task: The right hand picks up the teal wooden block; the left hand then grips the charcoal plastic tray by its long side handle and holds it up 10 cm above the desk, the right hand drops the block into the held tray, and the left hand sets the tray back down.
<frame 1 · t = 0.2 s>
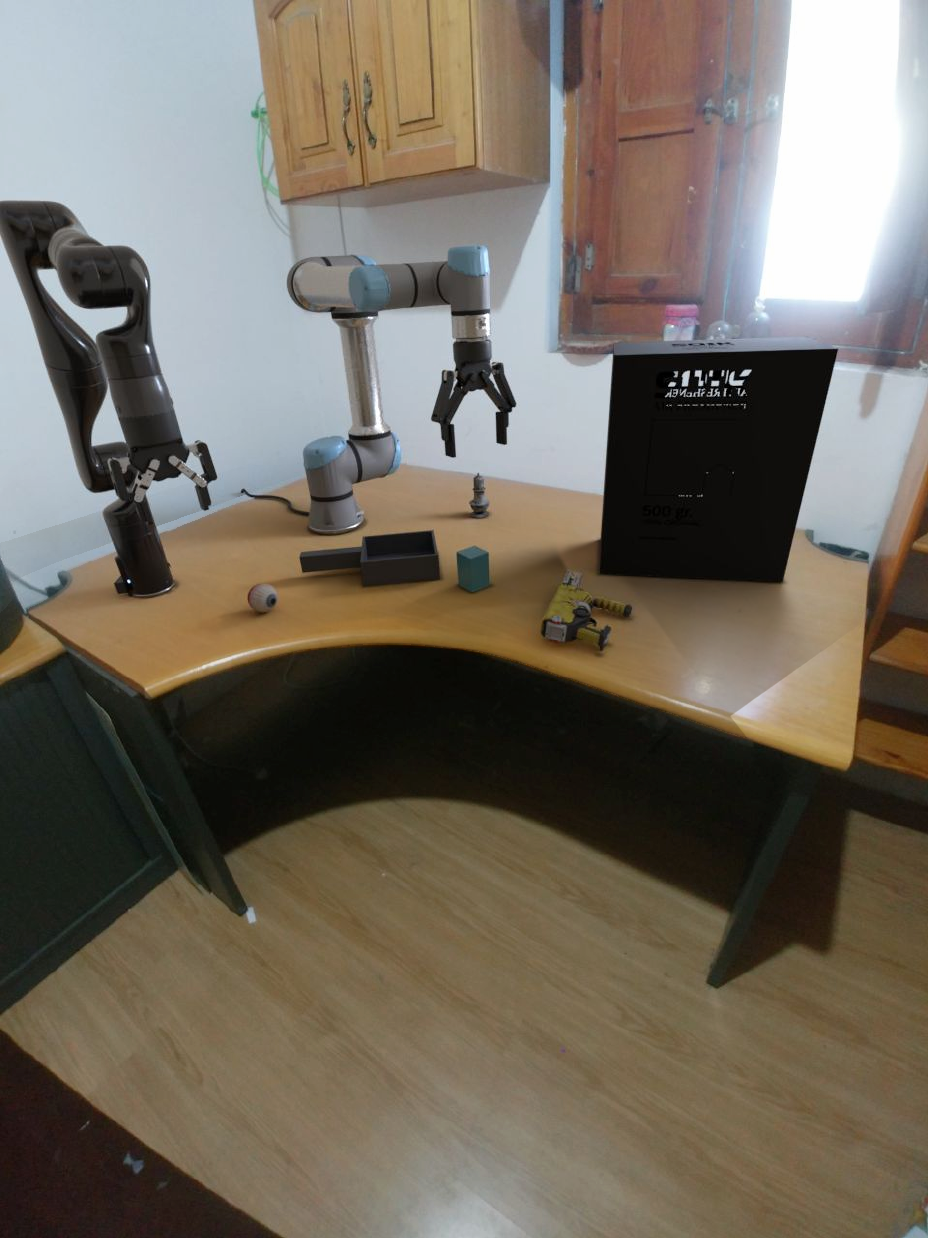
left hand: (177, 516, 95), 29 cm above the table, fingers open, 8 cm apart
right hand: (476, 449, 127), 27 cm above the table, fingers open, 13 cm apart
toy gun: (590, 619, 118), on the table
eyeball: (266, 611, 127), on the table
cardboard box: (683, 559, 139), on the table
tray: (401, 568, 142), on the table
stone chess piece: (480, 514, 171), on the table
block: (474, 585, 133), on the table
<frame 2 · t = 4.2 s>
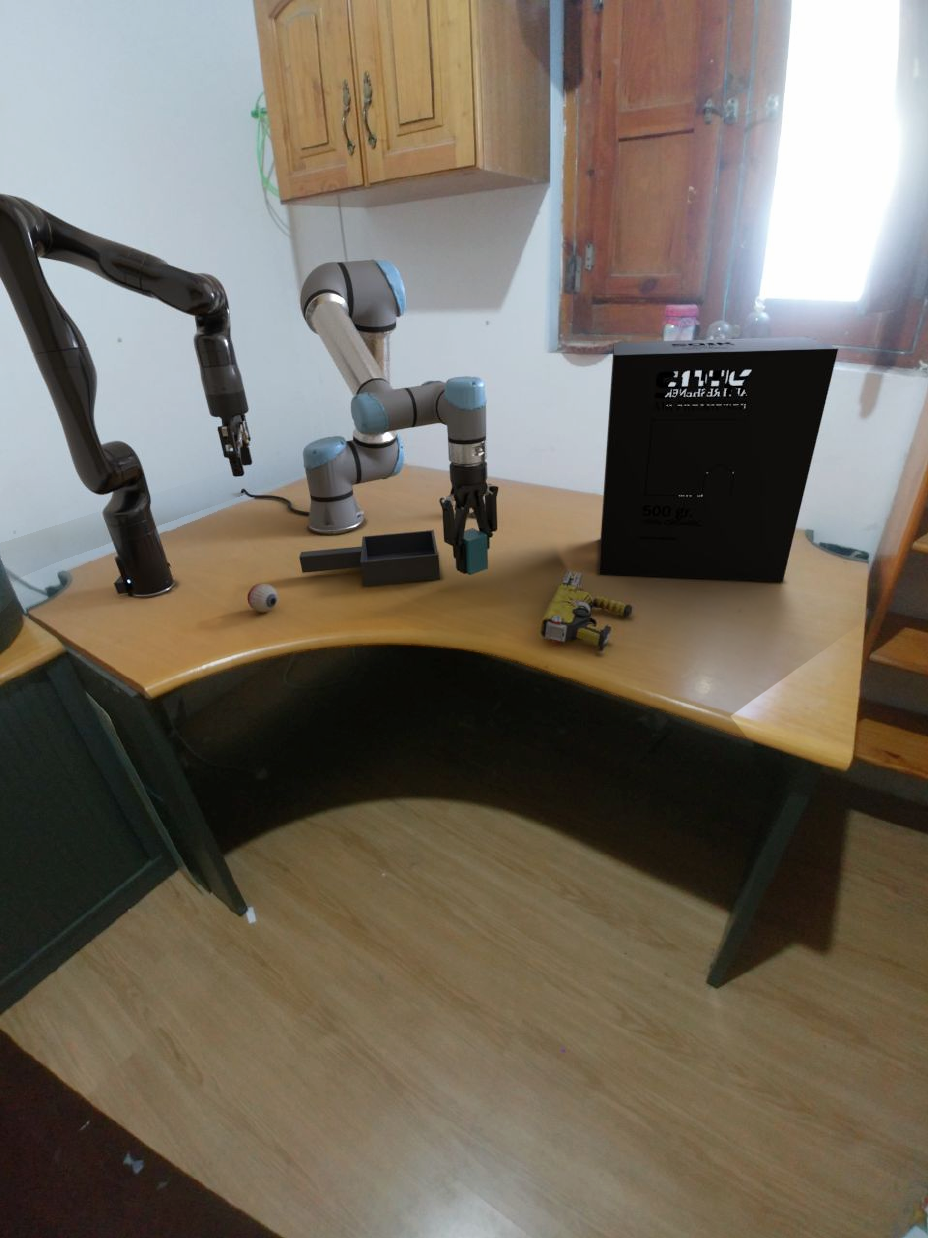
left hand: (243, 470, 127), 26 cm above the table, fingers open, 8 cm apart
right hand: (472, 567, 131), 4 cm above the table, fingers closed on block, 5 cm apart
block: (471, 568, 131), point 4 cm above the table, touching right hand
everything else where it was.
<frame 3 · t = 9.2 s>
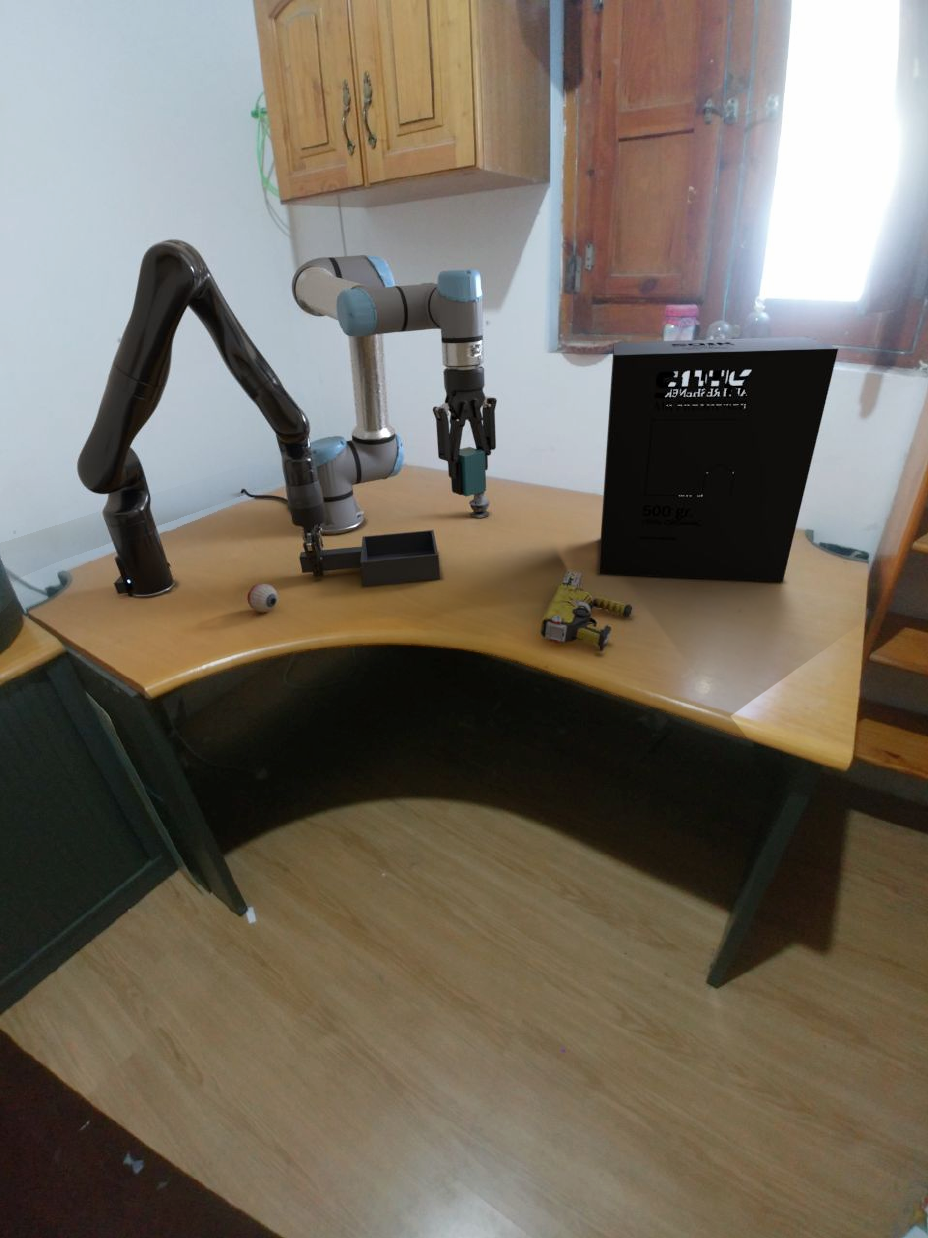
left hand: (319, 572, 140), 1 cm above the table, fingers closed on tray, 3 cm apart
right hand: (469, 489, 122), 22 cm above the table, fingers closed on block, 5 cm apart
tray: (401, 568, 142), on the table, touching left hand
block: (468, 490, 122), point 21 cm above the table, touching right hand
everything else where it was.
when the right hand's fingers open (22 cm above the table, at t = 14.5 s): block drops 11 cm, resting on tray.
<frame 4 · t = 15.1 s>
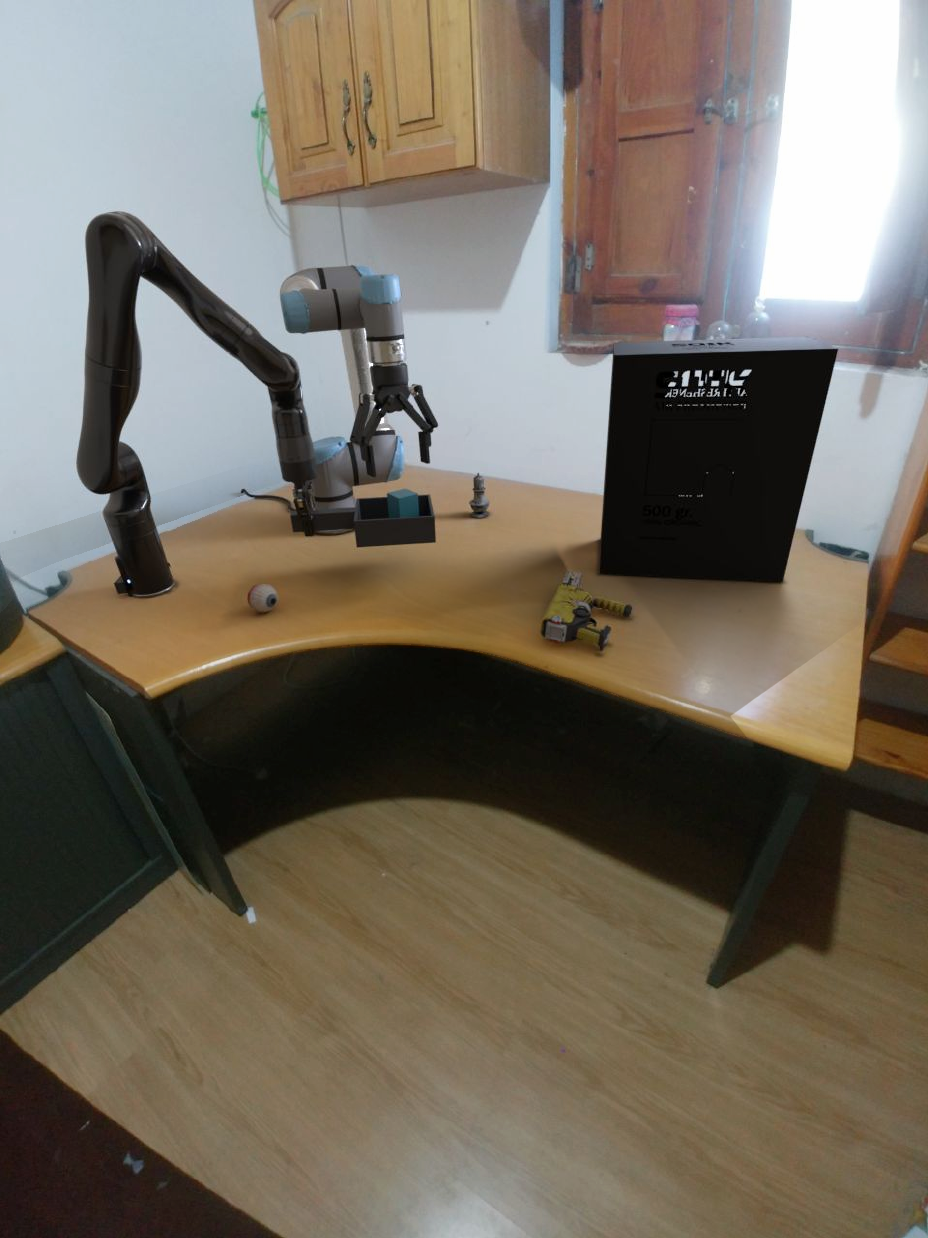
left hand: (310, 532, 135), 11 cm above the table, fingers closed on tray, 3 cm apart
right hand: (399, 468, 131), 24 cm above the table, fingers open, 13 cm apart
tray: (395, 532, 138), point 9 cm above the table, touching block, left hand
block: (404, 527, 138), point 10 cm above the table, touching tray
everything else where it was.
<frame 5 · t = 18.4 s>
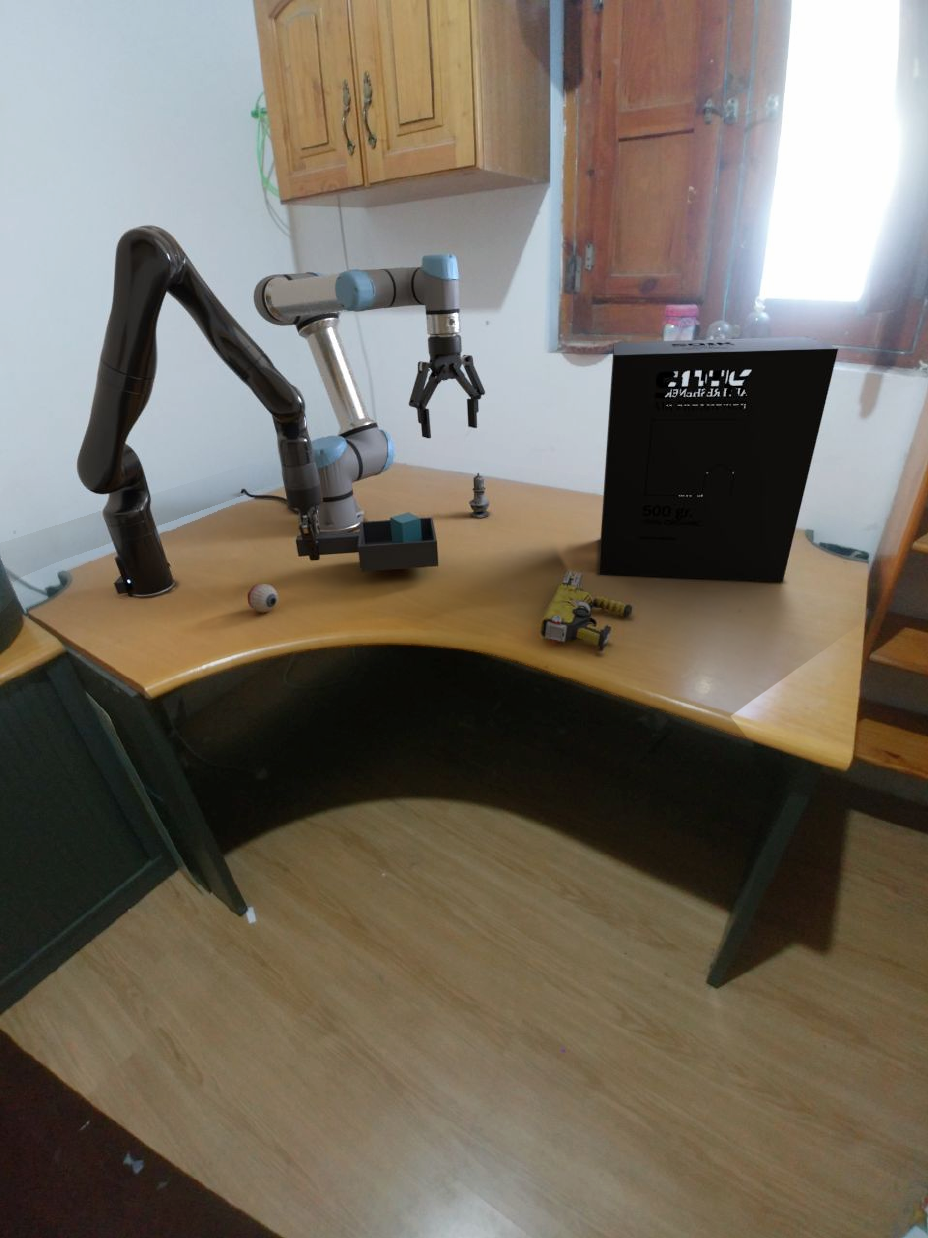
left hand: (315, 556, 138), 5 cm above the table, fingers closed on tray, 3 cm apart
right hand: (450, 432, 145), 27 cm above the table, fingers open, 13 cm apart
tray: (399, 555, 140), point 4 cm above the table, touching block, left hand
block: (407, 550, 140), point 5 cm above the table, touching tray
everything else where it was.
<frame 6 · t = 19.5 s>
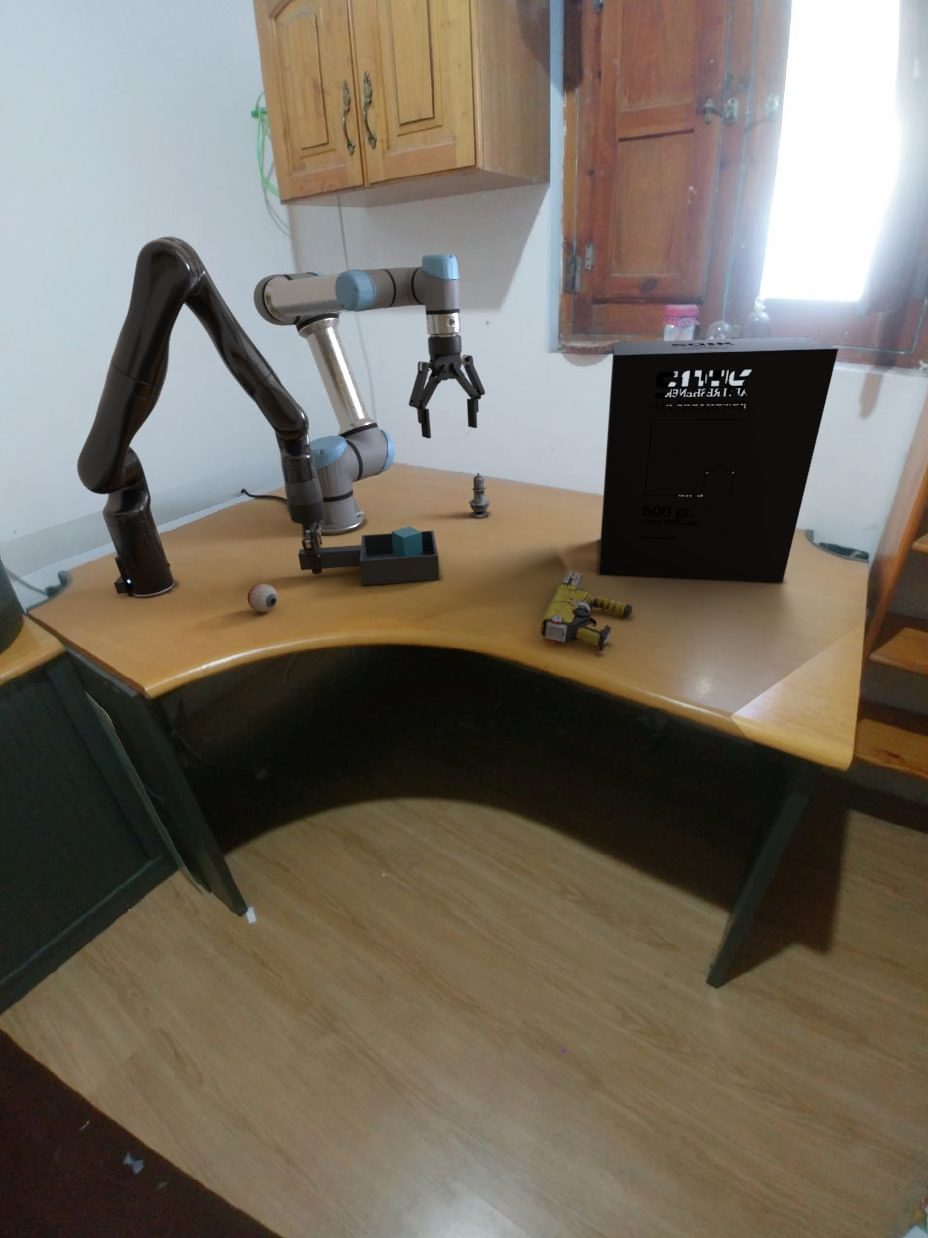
left hand: (318, 569, 140), 2 cm above the table, fingers closed on tray, 3 cm apart
right hand: (450, 432, 145), 27 cm above the table, fingers open, 13 cm apart
tray: (400, 568, 142), on the table, touching block, left hand
block: (408, 563, 142), point 1 cm above the table, touching tray
everything else where it was.
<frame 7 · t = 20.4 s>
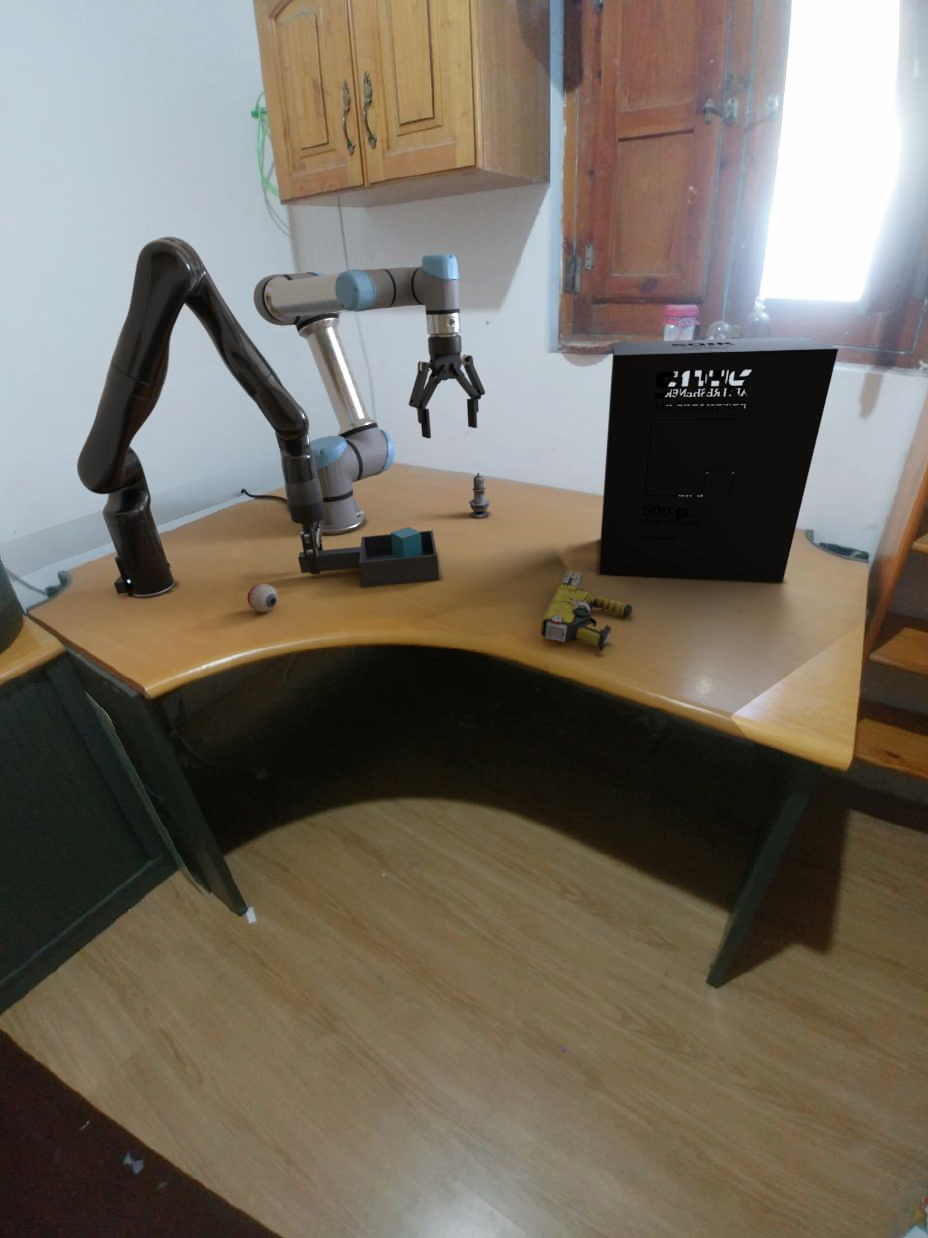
left hand: (317, 565, 140), 3 cm above the table, fingers open, 8 cm apart
right hand: (450, 432, 145), 27 cm above the table, fingers open, 13 cm apart
tray: (400, 569, 142), on the table, touching block
everything else where it was.
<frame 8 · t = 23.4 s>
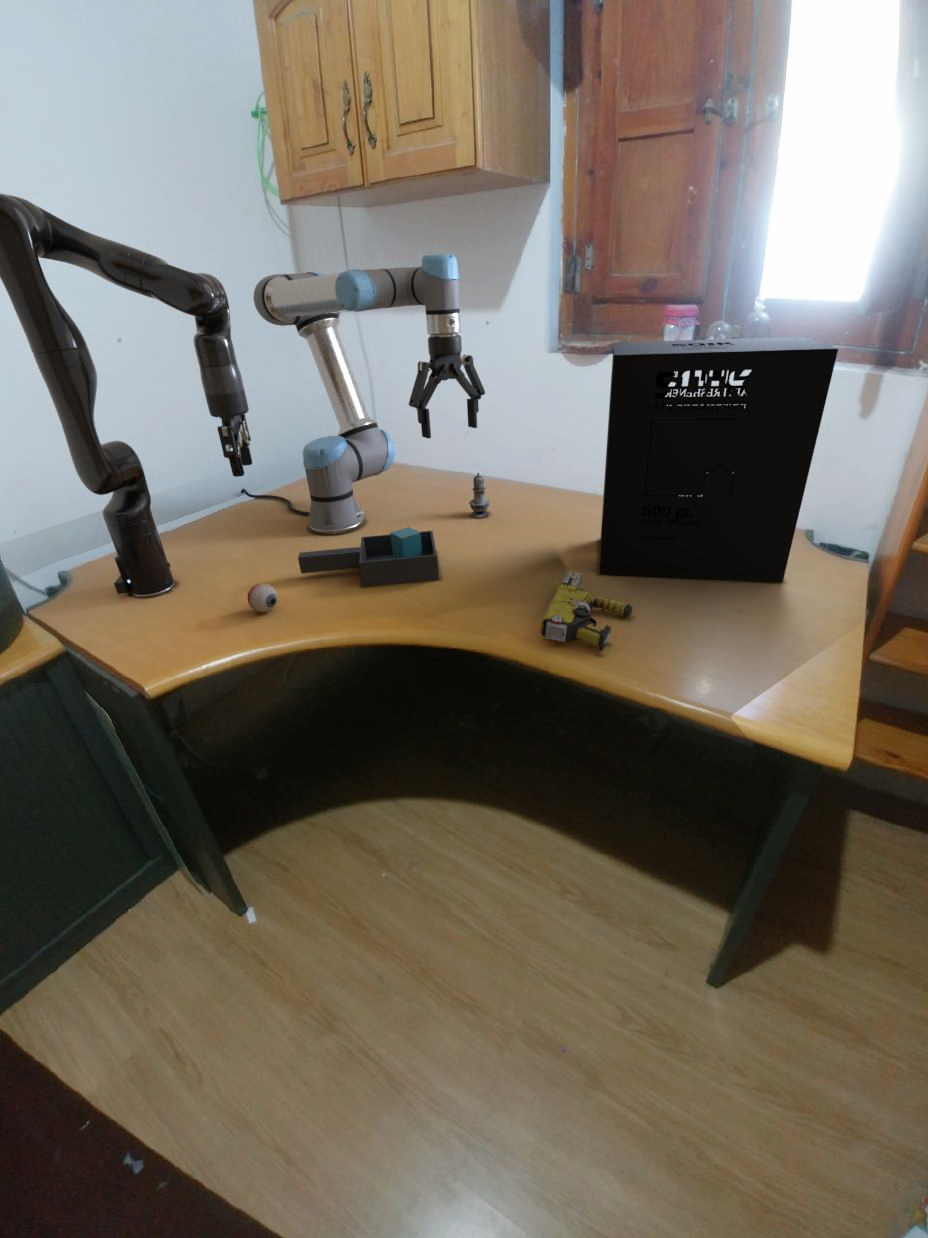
left hand: (243, 470, 127), 26 cm above the table, fingers open, 8 cm apart
right hand: (450, 432, 145), 27 cm above the table, fingers open, 13 cm apart
nothing on the table moved.
at the end: block inside the target area on the tray (2.1 cm from its centre), point 1.0 cm above the tray's base; tray inside the target area (0.3 cm from its centre), on the table; the left hand is holding nothing; the right hand is holding nothing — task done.
